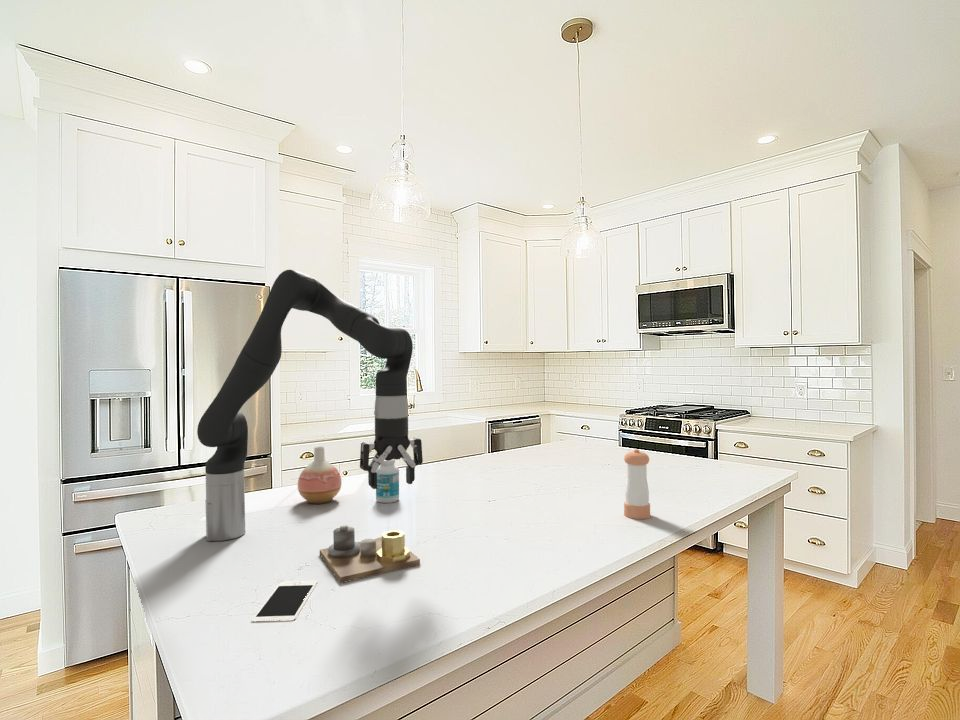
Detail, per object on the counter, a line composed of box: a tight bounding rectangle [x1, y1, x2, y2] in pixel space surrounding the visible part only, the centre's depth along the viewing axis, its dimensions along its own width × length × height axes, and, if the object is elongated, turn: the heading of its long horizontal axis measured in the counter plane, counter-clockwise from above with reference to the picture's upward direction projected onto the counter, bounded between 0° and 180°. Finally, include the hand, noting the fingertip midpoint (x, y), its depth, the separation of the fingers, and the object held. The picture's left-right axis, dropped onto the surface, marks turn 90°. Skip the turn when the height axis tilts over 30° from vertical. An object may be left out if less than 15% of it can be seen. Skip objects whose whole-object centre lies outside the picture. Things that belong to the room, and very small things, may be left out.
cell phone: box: [254, 580, 318, 621], centre depth 102 cm, size 8×16×1 cm, turn 3°
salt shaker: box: [623, 448, 651, 520], centre depth 151 cm, size 7×7×19 cm
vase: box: [297, 446, 343, 505], centre depth 170 cm, size 14×14×18 cm
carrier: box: [319, 525, 421, 584], centre depth 121 cm, size 18×18×7 cm
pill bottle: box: [375, 459, 400, 504], centre depth 170 cm, size 8×7×14 cm
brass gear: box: [377, 529, 411, 563], centre depth 120 cm, size 7×7×5 cm
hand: (392, 485), depth 119 cm, fingers open, 8 cm apart
